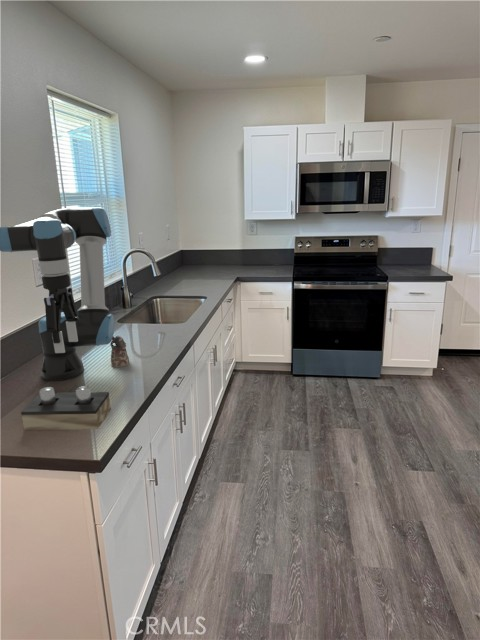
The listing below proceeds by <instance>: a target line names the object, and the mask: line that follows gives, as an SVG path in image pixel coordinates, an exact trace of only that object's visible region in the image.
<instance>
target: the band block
mask: <svg viewBox="0 0 480 640" xmlns="http://www.w3.org/2000/svg"><path fill="white" fill-rule="evenodd" d="M90 393H91V400H92V402H91V403H90V404H89V405H78V402H77V396H76V392H55V398H56V403H55V404H54V405H45V406H42V402H41V397H40V393H39V394H38V395H37V396H36V397H35V398H34V399H33V400H31V402H30V403H29V404H27V406H25V407H24V408H23V409H22V410H21V411H20V415H21V420H22V423H23V425H22V426H23V429H24V431H49V430H50V431H51V430H52V431H57V430H58V431H59V430H60V431H61V430H66V431H67V430H99V429H100V427H101V425H102V423H103V422H104V421H105V419H106V418H107V416H108V415H109V413H110V411H111V410H112V405H111V404H112V403H111V397H110V391H97V392H96V391H93V392H91V391H90Z"/></svg>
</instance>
